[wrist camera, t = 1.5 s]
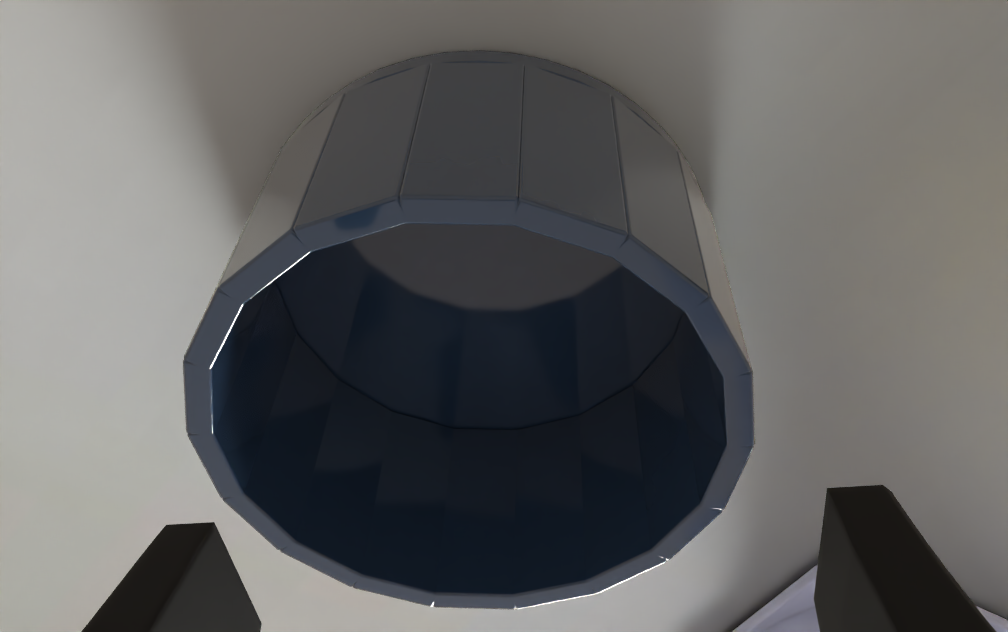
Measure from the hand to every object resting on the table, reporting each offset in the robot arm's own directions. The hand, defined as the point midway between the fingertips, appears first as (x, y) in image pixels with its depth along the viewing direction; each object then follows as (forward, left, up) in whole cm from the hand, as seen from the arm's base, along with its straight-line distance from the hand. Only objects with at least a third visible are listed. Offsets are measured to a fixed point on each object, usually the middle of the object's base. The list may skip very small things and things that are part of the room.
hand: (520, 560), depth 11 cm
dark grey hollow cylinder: (0, +3, -10) cm, 11 cm away
